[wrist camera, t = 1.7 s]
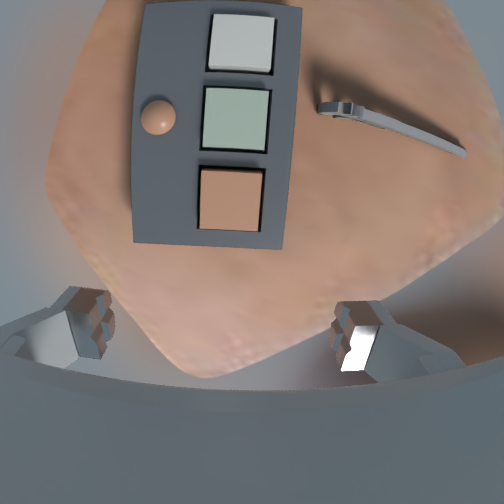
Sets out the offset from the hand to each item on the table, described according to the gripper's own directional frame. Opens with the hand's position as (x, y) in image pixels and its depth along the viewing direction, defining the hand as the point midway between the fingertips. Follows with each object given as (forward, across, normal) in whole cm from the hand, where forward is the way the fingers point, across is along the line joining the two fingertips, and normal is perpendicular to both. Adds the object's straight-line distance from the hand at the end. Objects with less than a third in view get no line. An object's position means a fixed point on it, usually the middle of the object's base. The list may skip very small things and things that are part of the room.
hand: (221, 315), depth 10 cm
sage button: (+20, 0, -7) cm, 21 cm away
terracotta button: (+20, 0, 0) cm, 20 cm away
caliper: (+22, -18, -9) cm, 30 cm away
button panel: (+22, +2, -7) cm, 23 cm away
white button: (+20, 0, -14) cm, 24 cm away
